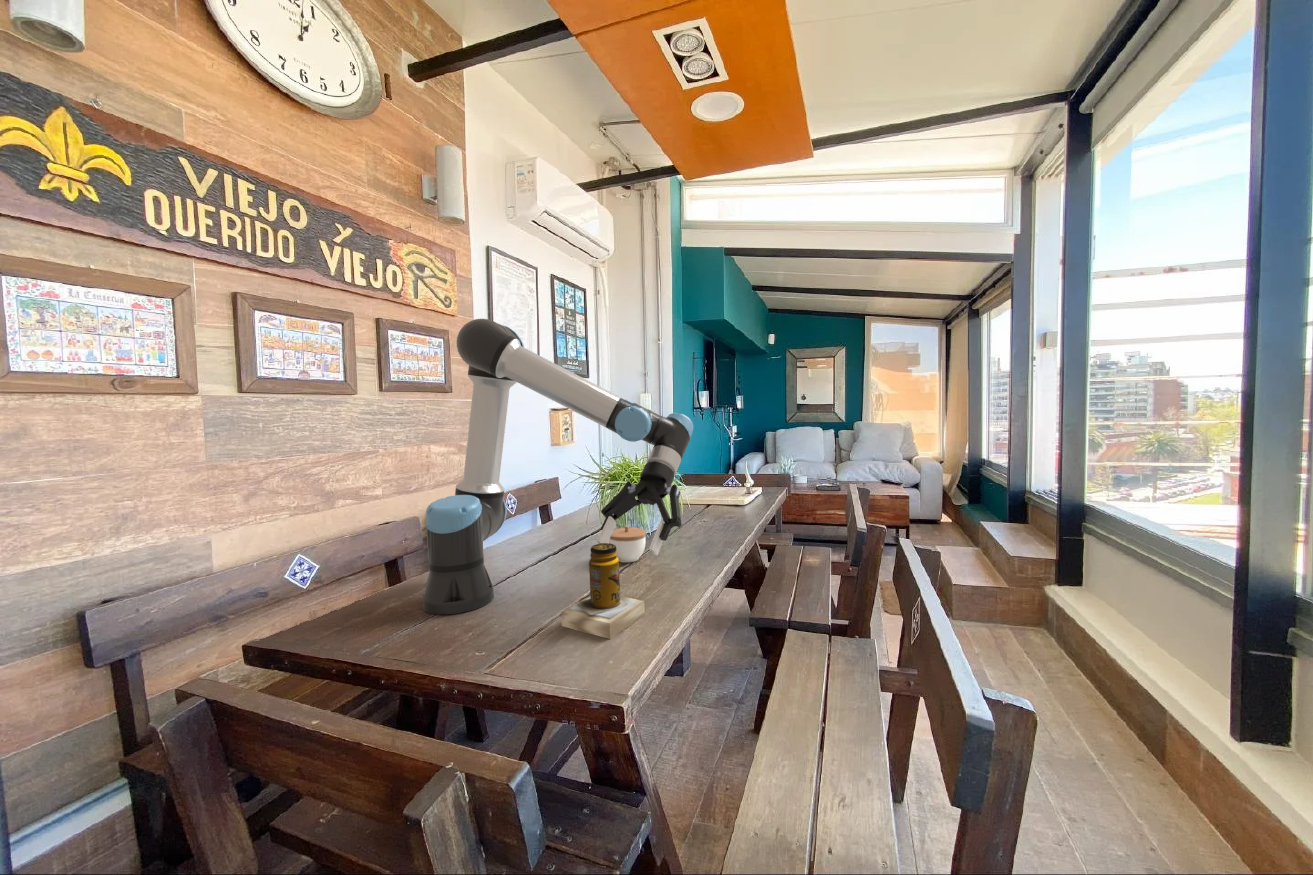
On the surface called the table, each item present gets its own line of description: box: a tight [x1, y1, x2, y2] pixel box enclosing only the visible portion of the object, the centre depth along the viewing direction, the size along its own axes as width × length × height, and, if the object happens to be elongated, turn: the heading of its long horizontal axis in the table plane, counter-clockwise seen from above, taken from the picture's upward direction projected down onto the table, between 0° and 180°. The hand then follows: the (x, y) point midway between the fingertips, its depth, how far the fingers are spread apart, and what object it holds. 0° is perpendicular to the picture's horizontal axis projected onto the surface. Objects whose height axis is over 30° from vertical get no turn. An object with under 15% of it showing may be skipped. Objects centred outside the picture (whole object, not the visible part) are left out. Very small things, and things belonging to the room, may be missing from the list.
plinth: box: [560, 595, 646, 640], centre depth 104 cm, size 12×12×3 cm
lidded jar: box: [608, 525, 647, 564], centre depth 145 cm, size 11×11×9 cm
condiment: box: [574, 542, 628, 615], centre depth 104 cm, size 7×8×12 cm
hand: (626, 548), depth 110 cm, fingers open, 13 cm apart
